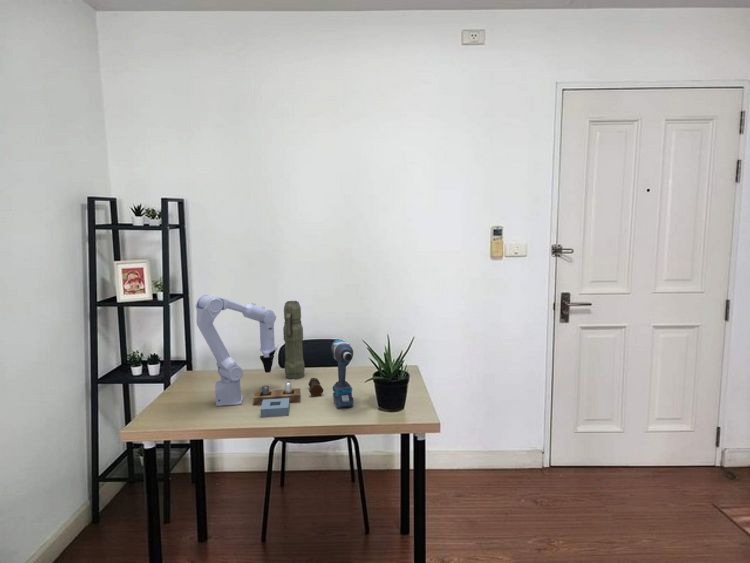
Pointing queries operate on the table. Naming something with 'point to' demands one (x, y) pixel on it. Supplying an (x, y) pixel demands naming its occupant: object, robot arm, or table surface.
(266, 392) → the black pin
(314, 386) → the bolt
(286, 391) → the steel pin
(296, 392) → the rack
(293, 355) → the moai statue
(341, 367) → the impact wrench
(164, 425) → the table surface
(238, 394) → the robot arm
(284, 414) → the socket block
